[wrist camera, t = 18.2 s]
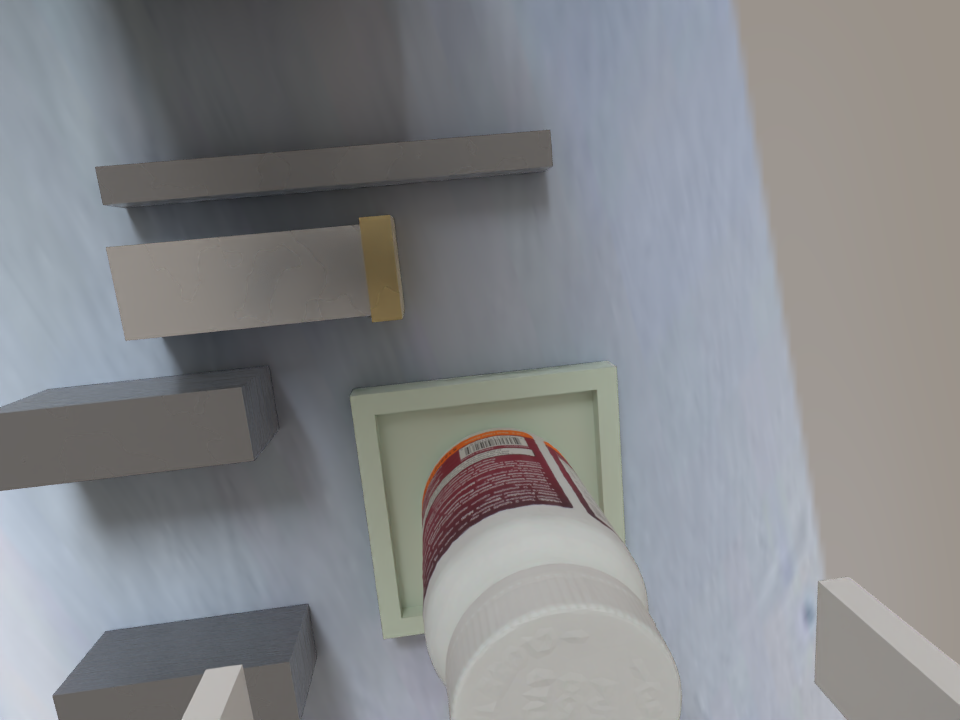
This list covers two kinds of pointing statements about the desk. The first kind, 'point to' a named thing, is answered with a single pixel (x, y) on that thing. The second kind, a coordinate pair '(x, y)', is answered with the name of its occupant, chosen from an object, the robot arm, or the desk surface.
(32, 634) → the desk surface
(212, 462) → the socket
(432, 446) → the tray
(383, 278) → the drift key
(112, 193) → the rail
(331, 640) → the desk surface
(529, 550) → the pill bottle
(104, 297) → the desk surface
